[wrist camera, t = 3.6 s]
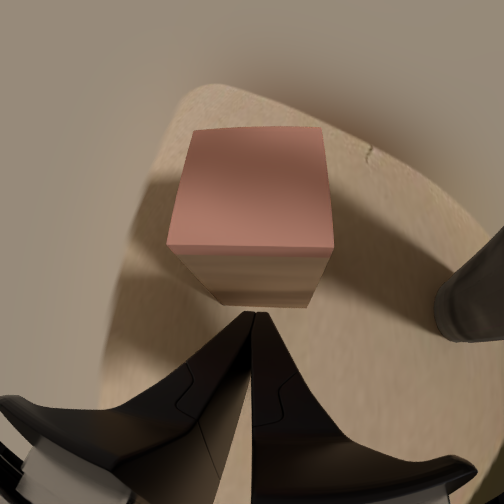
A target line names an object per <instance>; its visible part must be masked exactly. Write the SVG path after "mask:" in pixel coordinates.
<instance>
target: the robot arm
mask: <svg viewBox="0 0 504 504" xmlns="http://www.w3.org/2000/svg"><path fill="white" fill-rule="evenodd" d="M250 377H251V403H252V481H251V504H450V499H449V495H450V494H451V493H453V492H454V491H456V490H457V489H459V488H460V487H462V486H463V485H465V484H466V483H467V482H469V481H470V480H471V479H473V478H474V477H475V476H476V475H477V473H478V470H477V469H476V468H475V466H474V465H473V464H472V463H470V462H469V461H468V460H465V459H463V458H461V457H459V456H456V455H446V456H442V457H439V458H436V459H432V460H428V461H423V462H411V461H404V460H400V459H397V458H394V457H392V456H389V455H386V454H383V453H381V452H378V451H375V450H373V449H370V448H368V447H365V446H363V445H360V444H358V443H356V442H354V441H352V440H351V439H349V438H348V437H347V436H346V435H345V434H344V433H343V432H342V431H341V430H340V429H339V428H338V426H337V425H336V424H335V423H334V421H333V420H332V419H331V417H330V416H329V415H328V414H327V412H326V411H325V410H324V409H323V407H322V406H321V405H320V403H319V402H318V401H317V399H316V398H315V397H314V395H313V394H312V392H311V391H310V389H309V388H308V386H307V384H306V383H305V381H304V379H303V377H302V375H301V374H300V372H299V370H298V368H297V366H296V364H295V362H294V361H293V359H292V357H291V355H290V353H289V351H288V349H287V347H286V345H285V344H284V342H283V340H282V338H281V336H280V334H279V332H278V330H277V328H276V326H275V324H274V323H273V321H272V319H271V317H270V315H269V313H268V312H256V313H255V312H253V311H243V312H242V313H241V314H240V315H239V316H238V317H236V318H235V319H234V320H233V321H232V322H231V323H230V324H228V325H227V326H226V327H225V328H224V329H223V330H222V331H221V332H219V333H218V334H217V335H216V336H215V337H214V338H212V339H211V340H210V341H209V342H208V343H207V344H205V345H204V346H203V347H202V348H201V349H200V350H198V351H197V352H196V353H195V354H194V355H193V356H191V357H190V358H189V359H188V360H187V361H186V363H185V362H184V363H183V364H182V365H181V366H179V367H178V368H177V369H176V370H174V371H173V372H172V373H170V374H169V375H168V376H167V377H165V378H164V379H162V380H161V381H159V382H158V383H156V384H155V385H153V386H152V387H150V388H149V389H147V390H145V391H144V392H142V393H140V394H139V395H137V396H136V397H134V398H132V399H131V400H129V401H127V402H126V403H124V404H122V405H120V406H118V407H115V408H112V409H106V410H81V409H80V410H79V409H60V408H49V407H43V406H39V405H36V404H33V403H31V402H29V401H28V400H26V399H25V398H23V397H21V396H19V395H5V396H0V411H1V412H2V413H3V415H4V416H5V417H6V418H7V420H8V421H9V422H10V423H11V424H12V425H13V426H14V427H15V428H16V429H17V430H18V431H19V432H20V434H21V435H22V436H23V437H24V438H25V439H26V440H28V442H29V443H30V444H31V445H33V447H32V448H31V450H30V452H29V454H28V455H27V457H26V458H25V460H24V461H22V460H21V459H20V458H19V457H17V456H16V455H15V454H14V453H13V452H12V451H10V450H9V449H8V448H7V447H6V446H5V445H4V444H3V443H1V442H0V504H213V502H214V499H215V496H216V493H217V489H218V486H219V483H220V480H221V477H222V473H223V470H224V467H225V464H226V460H227V457H228V454H229V451H230V447H231V444H232V440H233V437H234V434H235V430H236V427H237V423H238V420H239V416H240V413H241V409H242V406H243V402H244V399H245V395H246V392H247V388H248V384H249V381H250ZM485 504H504V492H503V493H502V494H500V495H499V496H497V497H495V498H494V499H492V500H490V501H489V502H487V503H485Z"/></svg>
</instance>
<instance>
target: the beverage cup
mask: <svg viewBox="0 0 504 504" xmlns="http://www.w3.org/2000/svg"><path fill="white" fill-rule="evenodd" d="M434 315H435V320H436V323H437V326H438V329H439V330H440V332H441V333H442V335H443V336H444V337H446V338H447V339H448V340H450V341H453V342H468V343H474V342H487V341H497V340H504V226H503V227H502V228H501V230H500V231H499V232H498V233H497V234H496V235H495V236H494V237H493V238H492V239H491V240H490V241H489V242H488V243H487V244H486V245H485V246H484V247H483V248H482V249H481V250H479V251H478V252H477V253H476V254H475V255H474V256H473V257H472V258H471V259H470V260H469V261H468V262H467V263H465V264H464V265H463V266H462V267H461V268H460V269H459V270H457V271H456V272H455V273H454V274H453V275H452V277H451V278H450V279H449V280H448V281H447V282H445V283H444V284H443V285H442V286H441V287H440V288H439V290H438V293H437V295H436V297H435V303H434Z"/></svg>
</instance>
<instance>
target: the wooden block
mask: <svg viewBox="0 0 504 504" xmlns="http://www.w3.org/2000/svg"><path fill="white" fill-rule="evenodd" d="M166 245H167V246H168V247H169V248H170V250H171V251H172V252H173V253H174V254H175V255H176V256H177V257H178V258H179V259H180V261H181V262H182V263H183V264H184V265H185V266H186V267H187V268H188V269H189V270H190V271H191V272H192V273H193V274H194V276H195V277H196V278H197V279H198V280H199V281H200V282H201V283H202V284H203V285H204V286H205V287H206V288H207V289H208V290H209V291H210V292H211V293H212V294H213V295H214V296H215V297H216V298H217V299H218V301H219V302H220V303H221V304H222V305H229V306H249V307H278V308H307V306H308V304H309V302H310V300H311V298H312V296H313V294H314V291H315V289H316V287H317V285H318V283H319V281H320V279H321V276H322V274H323V272H324V270H325V267H326V265H327V263H328V261H329V258H330V256H331V254H332V252H333V249H334V236H333V222H332V210H331V199H330V190H329V181H328V172H327V164H326V156H325V149H324V142H323V135H322V129H321V128H320V127H288V126H270V127H236V128H220V129H207V130H196V131H194V132H193V135H192V139H191V142H190V146H189V149H188V153H187V156H186V160H185V164H184V168H183V172H182V175H181V179H180V183H179V188H178V192H177V196H176V200H175V205H174V209H173V214H172V218H171V223H170V228H169V232H168V237H167V243H166Z"/></svg>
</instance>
